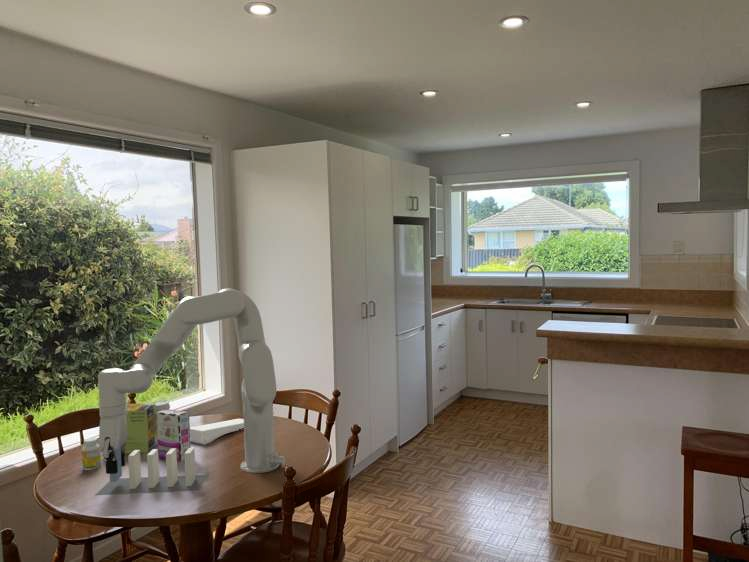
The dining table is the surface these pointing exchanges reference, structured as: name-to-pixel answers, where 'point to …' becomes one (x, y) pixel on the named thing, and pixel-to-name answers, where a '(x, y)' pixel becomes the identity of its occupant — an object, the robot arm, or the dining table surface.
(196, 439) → the wall bracket
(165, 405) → the coffee cup
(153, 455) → the domino
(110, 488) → the mat
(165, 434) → the candy bar box
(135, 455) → the domino
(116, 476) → the domino placed
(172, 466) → the domino
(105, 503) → the dining table surface
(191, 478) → the domino
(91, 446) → the supplement bottle
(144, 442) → the protein box
